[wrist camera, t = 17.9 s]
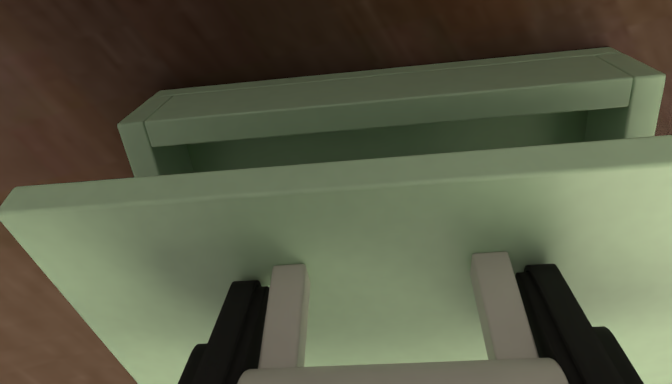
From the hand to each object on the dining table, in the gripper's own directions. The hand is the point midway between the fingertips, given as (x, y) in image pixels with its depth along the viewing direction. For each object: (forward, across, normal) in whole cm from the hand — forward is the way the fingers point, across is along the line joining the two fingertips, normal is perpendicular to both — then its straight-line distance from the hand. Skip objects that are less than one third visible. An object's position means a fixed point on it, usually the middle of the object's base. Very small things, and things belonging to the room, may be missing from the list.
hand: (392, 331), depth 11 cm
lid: (+3, 0, +4) cm, 5 cm away
